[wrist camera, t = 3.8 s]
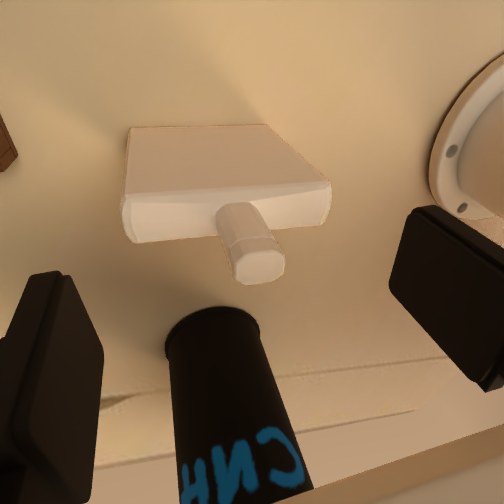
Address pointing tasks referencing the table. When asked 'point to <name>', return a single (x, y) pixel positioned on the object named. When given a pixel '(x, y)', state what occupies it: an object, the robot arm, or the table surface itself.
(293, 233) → the table surface
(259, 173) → the perfume bottle
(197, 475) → the aerosol can
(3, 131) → the tray
